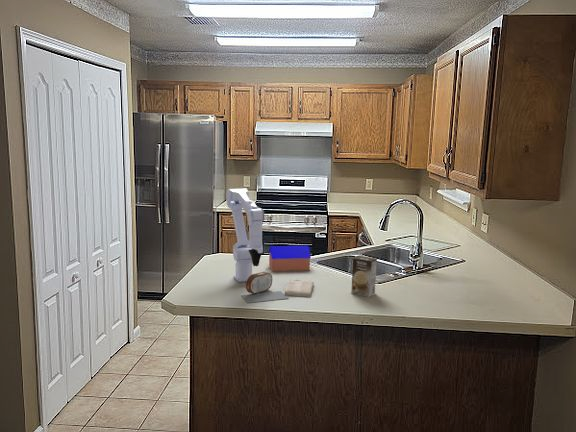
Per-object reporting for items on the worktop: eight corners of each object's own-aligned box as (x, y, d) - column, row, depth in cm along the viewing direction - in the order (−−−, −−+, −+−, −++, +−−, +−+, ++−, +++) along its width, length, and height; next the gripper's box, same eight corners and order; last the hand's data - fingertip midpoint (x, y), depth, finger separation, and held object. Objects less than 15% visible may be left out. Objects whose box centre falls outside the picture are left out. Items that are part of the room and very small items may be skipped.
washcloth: (313, 285, 238) (314, 279, 237) (311, 298, 220) (311, 291, 219) (288, 284, 239) (288, 278, 238) (284, 296, 221) (284, 290, 221)
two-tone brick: (268, 265, 270) (268, 243, 268) (305, 264, 273) (306, 243, 271) (271, 271, 258) (271, 249, 256) (310, 270, 261) (311, 248, 259)
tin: (268, 287, 231) (268, 269, 230) (273, 289, 229) (273, 270, 228) (245, 295, 220) (245, 275, 219) (250, 296, 218) (250, 276, 217)
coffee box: (350, 293, 226) (351, 257, 223) (356, 289, 231) (358, 255, 228) (369, 297, 221) (371, 261, 218) (375, 293, 226) (377, 258, 223)
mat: (241, 295, 220) (241, 295, 220) (280, 291, 226) (280, 291, 226) (247, 303, 211) (247, 302, 211) (288, 298, 217) (288, 298, 217)
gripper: (242, 233, 232) (242, 262, 234) (251, 239, 219) (251, 270, 221) (257, 232, 235) (257, 261, 237) (267, 238, 221) (267, 268, 223)
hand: (255, 265), depth 229 cm, fingers closed
